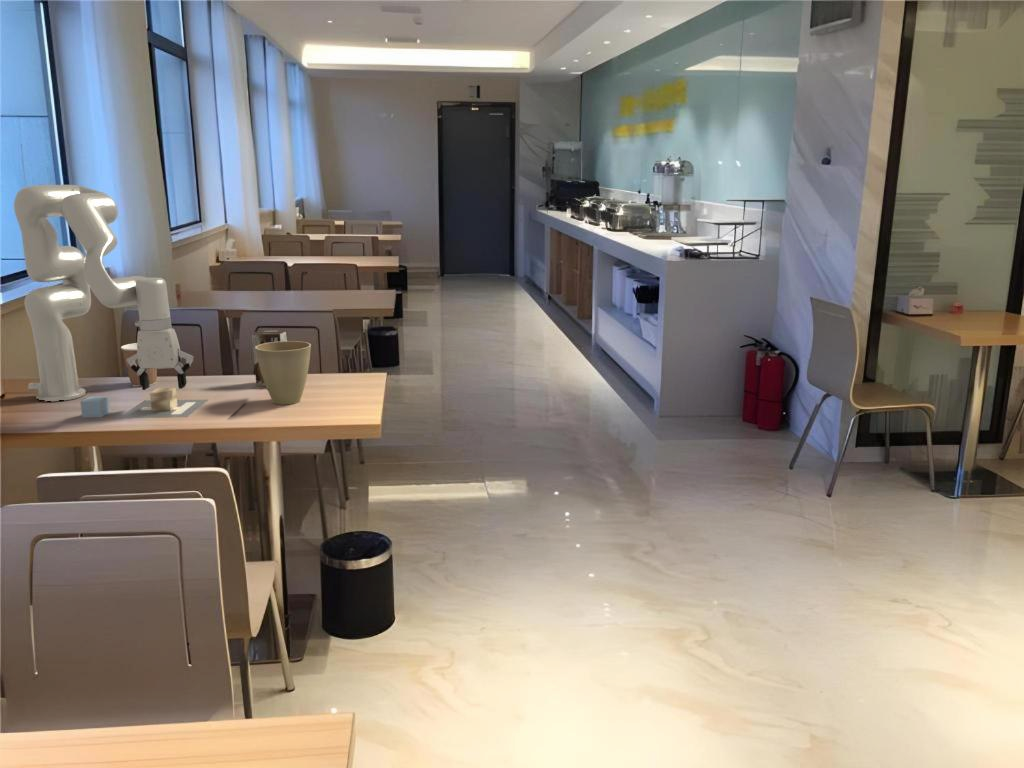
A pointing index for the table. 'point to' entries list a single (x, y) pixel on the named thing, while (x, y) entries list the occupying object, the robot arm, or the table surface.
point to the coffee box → (262, 338)
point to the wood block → (163, 399)
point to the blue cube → (95, 406)
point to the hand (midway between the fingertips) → (164, 388)
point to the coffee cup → (134, 378)
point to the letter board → (180, 411)
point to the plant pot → (284, 369)
